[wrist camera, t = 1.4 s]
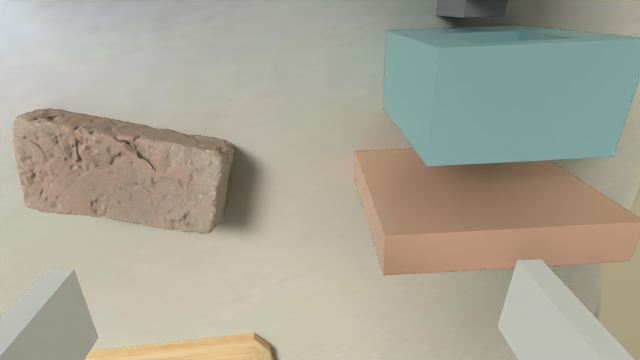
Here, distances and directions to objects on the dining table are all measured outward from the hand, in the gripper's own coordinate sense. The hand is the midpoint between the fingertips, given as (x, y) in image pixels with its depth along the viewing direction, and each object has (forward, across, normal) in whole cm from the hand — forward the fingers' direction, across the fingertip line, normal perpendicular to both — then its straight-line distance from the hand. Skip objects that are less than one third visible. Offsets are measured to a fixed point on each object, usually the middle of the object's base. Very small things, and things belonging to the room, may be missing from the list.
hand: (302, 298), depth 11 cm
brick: (+24, -15, -6) cm, 29 cm away
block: (+24, +13, +3) cm, 27 cm away
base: (+24, +13, -6) cm, 28 cm away
